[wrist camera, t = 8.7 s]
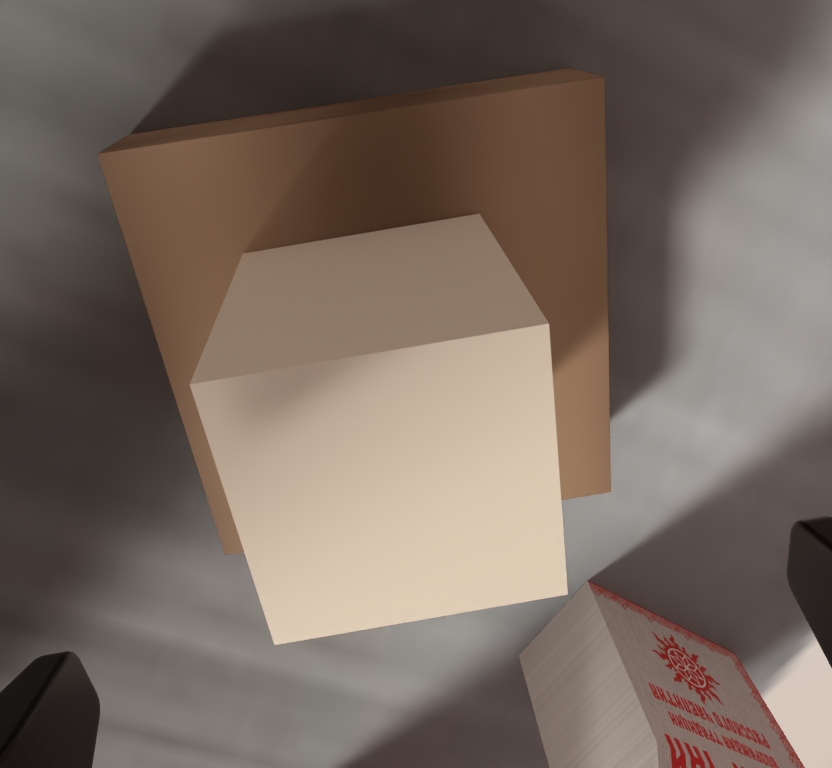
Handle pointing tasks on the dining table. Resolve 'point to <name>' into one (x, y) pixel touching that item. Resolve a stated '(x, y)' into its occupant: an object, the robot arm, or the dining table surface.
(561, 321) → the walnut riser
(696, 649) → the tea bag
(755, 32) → the dining table surface
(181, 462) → the dining table surface
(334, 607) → the cream block
